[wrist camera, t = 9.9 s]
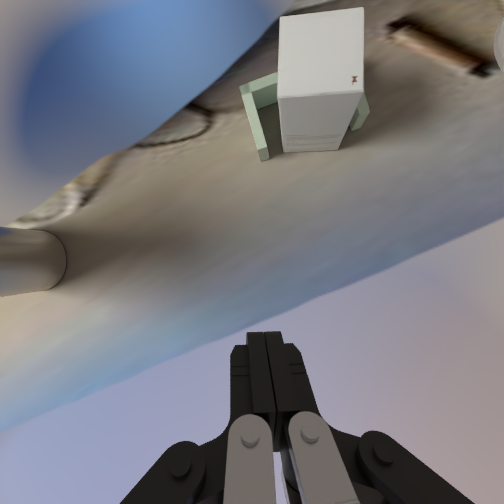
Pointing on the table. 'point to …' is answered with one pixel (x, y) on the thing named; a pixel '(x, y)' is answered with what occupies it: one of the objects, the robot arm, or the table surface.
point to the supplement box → (319, 77)
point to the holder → (266, 94)
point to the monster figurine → (499, 44)
